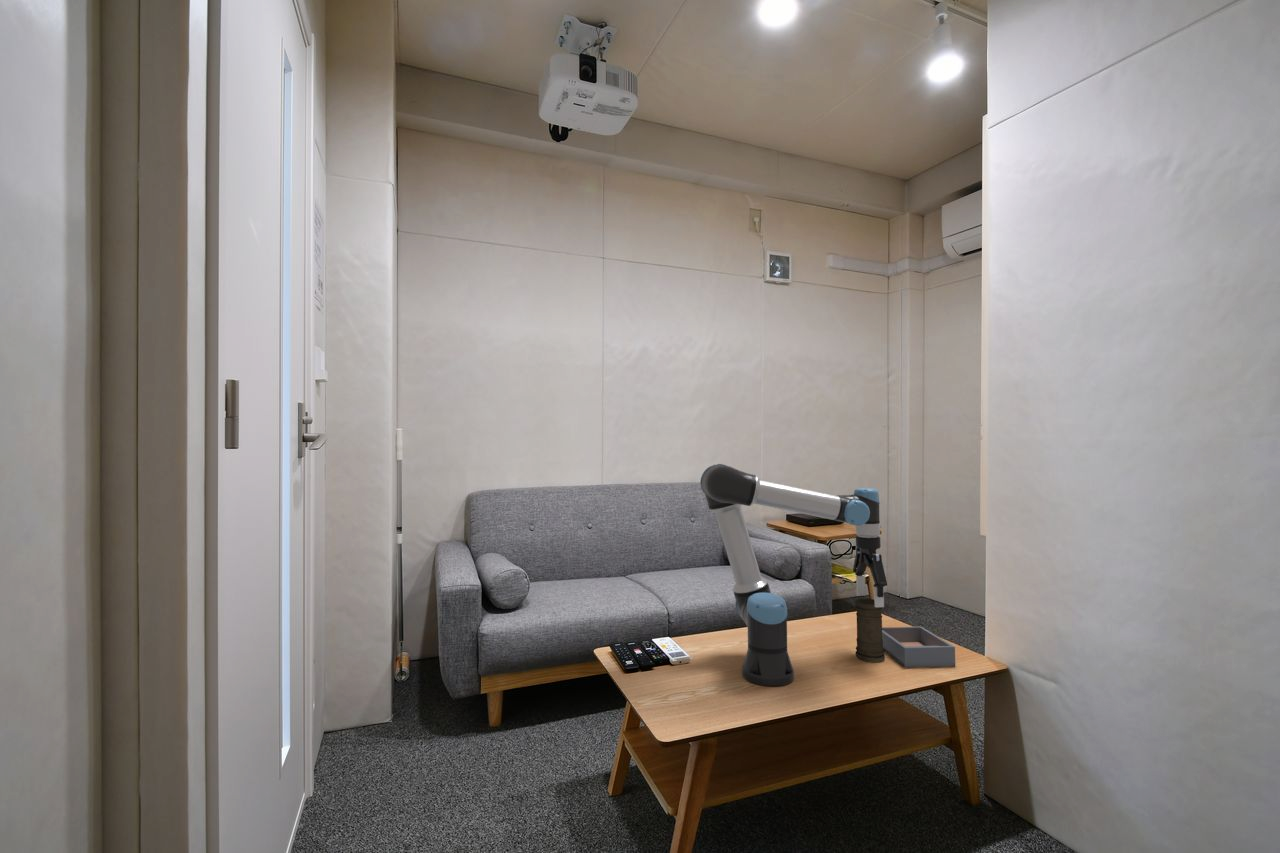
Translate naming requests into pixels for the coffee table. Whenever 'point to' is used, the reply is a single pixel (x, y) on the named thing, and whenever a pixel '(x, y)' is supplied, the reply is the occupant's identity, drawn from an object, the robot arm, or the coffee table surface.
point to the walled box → (917, 647)
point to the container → (869, 631)
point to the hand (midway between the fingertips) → (869, 601)
